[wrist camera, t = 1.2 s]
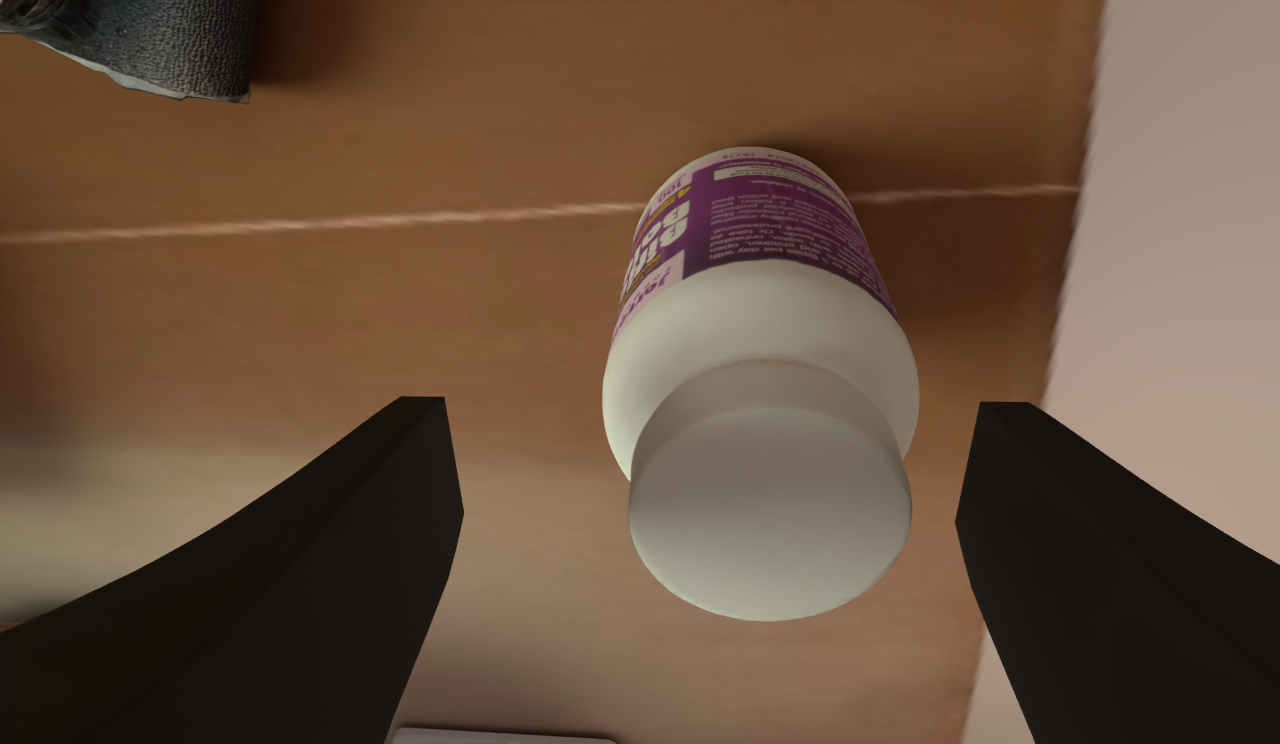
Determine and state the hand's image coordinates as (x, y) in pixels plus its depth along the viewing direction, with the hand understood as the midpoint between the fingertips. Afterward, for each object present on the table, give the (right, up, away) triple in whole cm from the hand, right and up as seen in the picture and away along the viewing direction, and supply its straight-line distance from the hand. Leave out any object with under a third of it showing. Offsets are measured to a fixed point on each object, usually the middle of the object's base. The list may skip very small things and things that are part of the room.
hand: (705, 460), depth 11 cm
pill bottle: (+2, +4, +9) cm, 10 cm away
